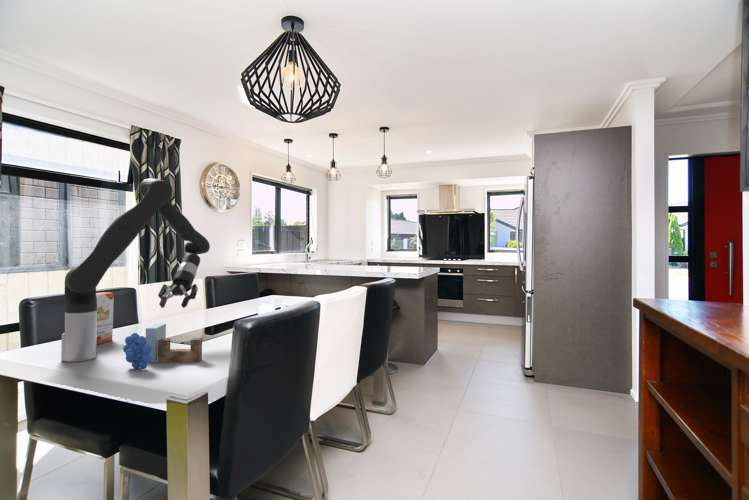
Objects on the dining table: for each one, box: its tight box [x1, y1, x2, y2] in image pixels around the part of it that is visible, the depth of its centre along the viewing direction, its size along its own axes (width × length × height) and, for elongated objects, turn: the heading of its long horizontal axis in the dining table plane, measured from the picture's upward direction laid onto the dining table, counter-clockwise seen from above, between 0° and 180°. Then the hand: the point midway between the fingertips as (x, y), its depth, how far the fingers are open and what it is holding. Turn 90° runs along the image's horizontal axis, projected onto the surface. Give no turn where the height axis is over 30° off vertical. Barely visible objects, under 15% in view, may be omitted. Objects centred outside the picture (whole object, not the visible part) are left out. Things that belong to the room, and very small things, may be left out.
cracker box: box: [96, 291, 115, 345], centre depth 160 cm, size 14×6×21 cm, turn 168°
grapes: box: [122, 332, 152, 370], centre depth 128 cm, size 12×7×12 cm, turn 72°
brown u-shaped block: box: [157, 337, 203, 364], centre depth 139 cm, size 14×3×8 cm, turn 97°
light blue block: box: [145, 323, 167, 363], centre depth 141 cm, size 4×8×12 cm, turn 7°
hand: (172, 306), depth 154 cm, fingers open, 8 cm apart
